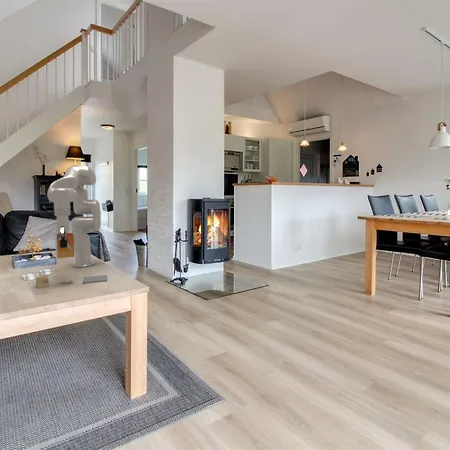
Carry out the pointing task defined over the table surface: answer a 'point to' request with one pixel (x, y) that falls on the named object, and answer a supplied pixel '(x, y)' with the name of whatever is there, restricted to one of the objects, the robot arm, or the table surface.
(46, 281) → the oak block
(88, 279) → the felt mat
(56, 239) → the small box
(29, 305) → the table surface
